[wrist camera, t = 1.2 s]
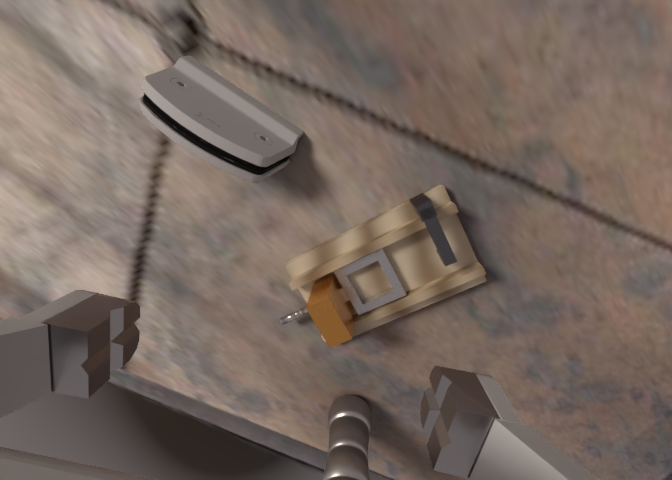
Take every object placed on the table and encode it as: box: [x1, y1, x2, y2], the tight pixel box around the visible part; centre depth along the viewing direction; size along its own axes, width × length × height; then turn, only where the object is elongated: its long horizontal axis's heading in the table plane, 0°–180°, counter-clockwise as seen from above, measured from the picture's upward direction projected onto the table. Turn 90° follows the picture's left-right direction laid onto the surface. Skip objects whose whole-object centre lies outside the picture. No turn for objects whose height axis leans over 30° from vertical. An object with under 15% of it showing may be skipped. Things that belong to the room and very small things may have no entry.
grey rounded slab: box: [140, 56, 303, 183], centre depth 36 cm, size 17×5×10 cm, turn 57°
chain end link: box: [280, 248, 406, 348], centre depth 40 cm, size 18×7×7 cm, turn 118°
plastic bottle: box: [322, 395, 372, 480], centre depth 42 cm, size 6×7×20 cm
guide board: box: [284, 184, 486, 342], centre depth 42 cm, size 23×14×4 cm, turn 119°
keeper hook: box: [410, 193, 457, 266], centre depth 38 cm, size 2×8×5 cm, turn 29°
